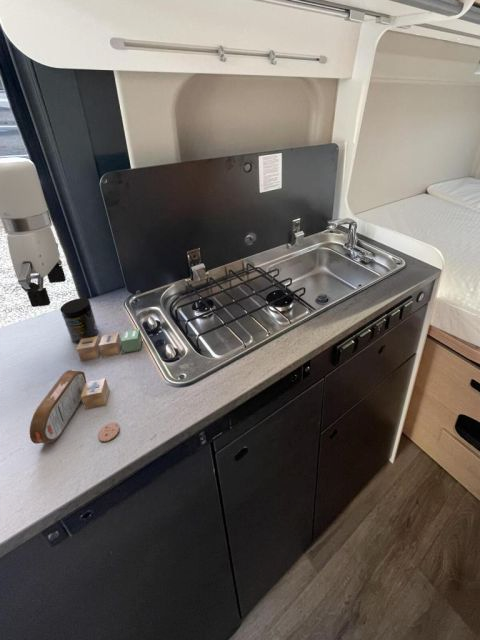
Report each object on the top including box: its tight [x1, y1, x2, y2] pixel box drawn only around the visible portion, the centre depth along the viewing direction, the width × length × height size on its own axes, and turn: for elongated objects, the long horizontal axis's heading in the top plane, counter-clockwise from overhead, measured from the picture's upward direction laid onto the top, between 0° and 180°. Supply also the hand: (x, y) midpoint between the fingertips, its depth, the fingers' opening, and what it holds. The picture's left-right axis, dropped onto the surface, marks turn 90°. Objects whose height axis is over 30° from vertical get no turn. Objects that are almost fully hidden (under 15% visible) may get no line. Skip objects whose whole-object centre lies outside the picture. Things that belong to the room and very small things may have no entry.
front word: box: [81, 377, 110, 410], centre depth 73 cm, size 4×4×4 cm
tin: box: [29, 369, 87, 445], centre depth 68 cm, size 15×3×8 cm, turn 4°
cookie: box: [97, 422, 120, 442], centre depth 66 cm, size 4×4×1 cm
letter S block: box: [120, 328, 143, 353], centre depth 88 cm, size 4×4×4 cm
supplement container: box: [59, 297, 99, 344], centre depth 90 cm, size 7×7×10 cm
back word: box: [76, 332, 144, 362], centre depth 87 cm, size 14×5×4 cm, turn 107°
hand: (50, 292), depth 73 cm, fingers open, 9 cm apart
